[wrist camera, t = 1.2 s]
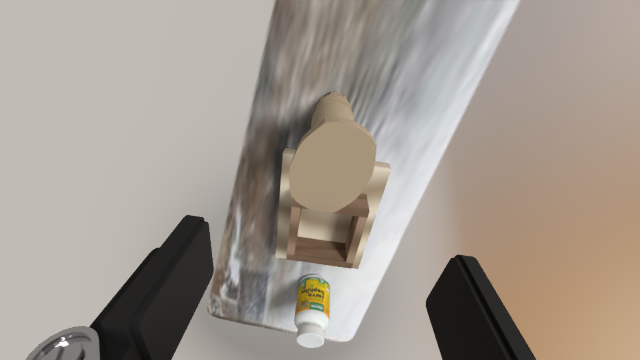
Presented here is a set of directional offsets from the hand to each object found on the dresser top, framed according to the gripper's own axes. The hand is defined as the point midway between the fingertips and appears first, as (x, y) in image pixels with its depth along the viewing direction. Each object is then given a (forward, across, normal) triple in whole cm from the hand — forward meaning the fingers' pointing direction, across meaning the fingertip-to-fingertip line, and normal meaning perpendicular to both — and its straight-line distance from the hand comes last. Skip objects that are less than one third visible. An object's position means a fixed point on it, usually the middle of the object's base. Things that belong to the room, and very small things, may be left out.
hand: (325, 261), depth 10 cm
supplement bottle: (+22, -2, +31) cm, 38 cm away
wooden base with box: (+22, -2, +15) cm, 26 cm away
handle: (+22, 0, 0) cm, 22 cm away
